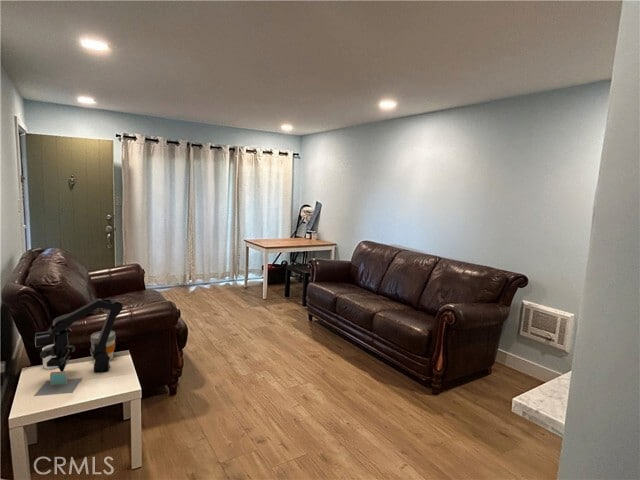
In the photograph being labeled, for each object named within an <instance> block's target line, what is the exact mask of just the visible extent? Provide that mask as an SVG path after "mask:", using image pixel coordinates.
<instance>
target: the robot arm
mask: <svg viewBox="0 0 640 480" xmlns="http://www.w3.org/2000/svg"><path fill="white" fill-rule="evenodd" d="M123 308H124V305H123V304H122V302H121V301H120V300H118V299H117V298H115V299H114V298H113V299H107V298H104V299H102V298H96V299H94V300H93V301H91V302H88V303H87V304H85V305H83V306H81V307H80V308H77V309H76V310H74V311H72V312H70V313H66V314H62V315H59V316H57V317H55V318H54V319H53V320H52V324H51V325H50V327H49V328H48V330H46V331H41V332H35V335H34V336H35V337H34V344H35V348H39V347H40V348H41V347H45V346H48V345H52V343H53V344H54V345H53V346H52V347H49V348H46V349H44V350H43V351H42V350H41V351H40V353H39V357H40V358H41V359H43V358H46V357H48V356H51V355H52V356H56V357H55V358H51V359H50V360H49V361H48V362H47V367H52V366H58V370H59V372H61V371H64V370H65V368H66V367H67V364H68V362H69V360H70V358H71V354H69V353H70V352H72V353H74V352H75V351H76V346H75V345H74V344H70V341H69V337H68V336H69V335H68V334H71V333H73V329H71V328H70V327H71V326H72V325H73V324H74V323H75V322H76V321H77V320H79V319H82V318H83V317H85V316H86V315H87V316H88V314H90V313H92V312H95V311H96V310H97V309H105V310H106V318H105V319H104V323H103V326H102V328H101V330H100V331H101V333H100V336H99V338H98V341H97V342H96V343H91V345H92V347H91V346H90V348H89V351H90V356H91V357H92V358H93V360H94V363H93V371H94V372H93V373H94V374H98V373H107V372H109V370H110V368H112V367H111V366H110V361H111V360H110V357H109V355H108V354H107V352H106V343H107V340H108V337H109V334H110V332H111V331H112V328H113V326H114V324H115V320H116V318H117V317H118V316H119V315H120V313H121V312H122V310H123ZM109 360H110V361H109Z"/></svg>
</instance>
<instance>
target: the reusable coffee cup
mask: <svg viewBox="0 0 640 480" xmlns="http://www.w3.org/2000/svg"><path fill="white" fill-rule="evenodd" d="M100 333H101V330H100V331H96V332H93V333H92V334H91V335H90V343H91V345H90V348H91V347H92V343H96V342H97V341H98V338H99V336H100ZM116 336H117V335H116V332H115V331H114V330H111V332H110V334H109V337H108V340H107V343H106V352H107V354H108V355H109V357H110V361H111V359H112V360H113V357H114V352H115V349H116V339H117V337H116Z"/></svg>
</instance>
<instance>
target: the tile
mask: <svg viewBox="0 0 640 480" xmlns="http://www.w3.org/2000/svg"><path fill="white" fill-rule="evenodd" d="M68 373H69V371H68V370H65V371H52V372H50V373H49V376H50V377H49V378H50V379H49V381H50V383H51V385H58V384H67V383H68V379H69V374H68Z"/></svg>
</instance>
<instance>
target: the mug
mask: <svg viewBox="0 0 640 480" xmlns="http://www.w3.org/2000/svg"><path fill="white" fill-rule="evenodd" d="M53 345H54V343H51V344H50V345H45V346H43V347H42V348H41V349H42V350H41V351H43V350H44V349H46V348H49V347H52V346H53ZM55 357H56V356H52V355H51V356H48V357H46V358H42V368H44V369H45V370H53V369H54V370H55V369H57V368H58V369H59V367H58V366H52V367H47V362H48V361H49V360H50V359H51V358H55Z"/></svg>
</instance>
